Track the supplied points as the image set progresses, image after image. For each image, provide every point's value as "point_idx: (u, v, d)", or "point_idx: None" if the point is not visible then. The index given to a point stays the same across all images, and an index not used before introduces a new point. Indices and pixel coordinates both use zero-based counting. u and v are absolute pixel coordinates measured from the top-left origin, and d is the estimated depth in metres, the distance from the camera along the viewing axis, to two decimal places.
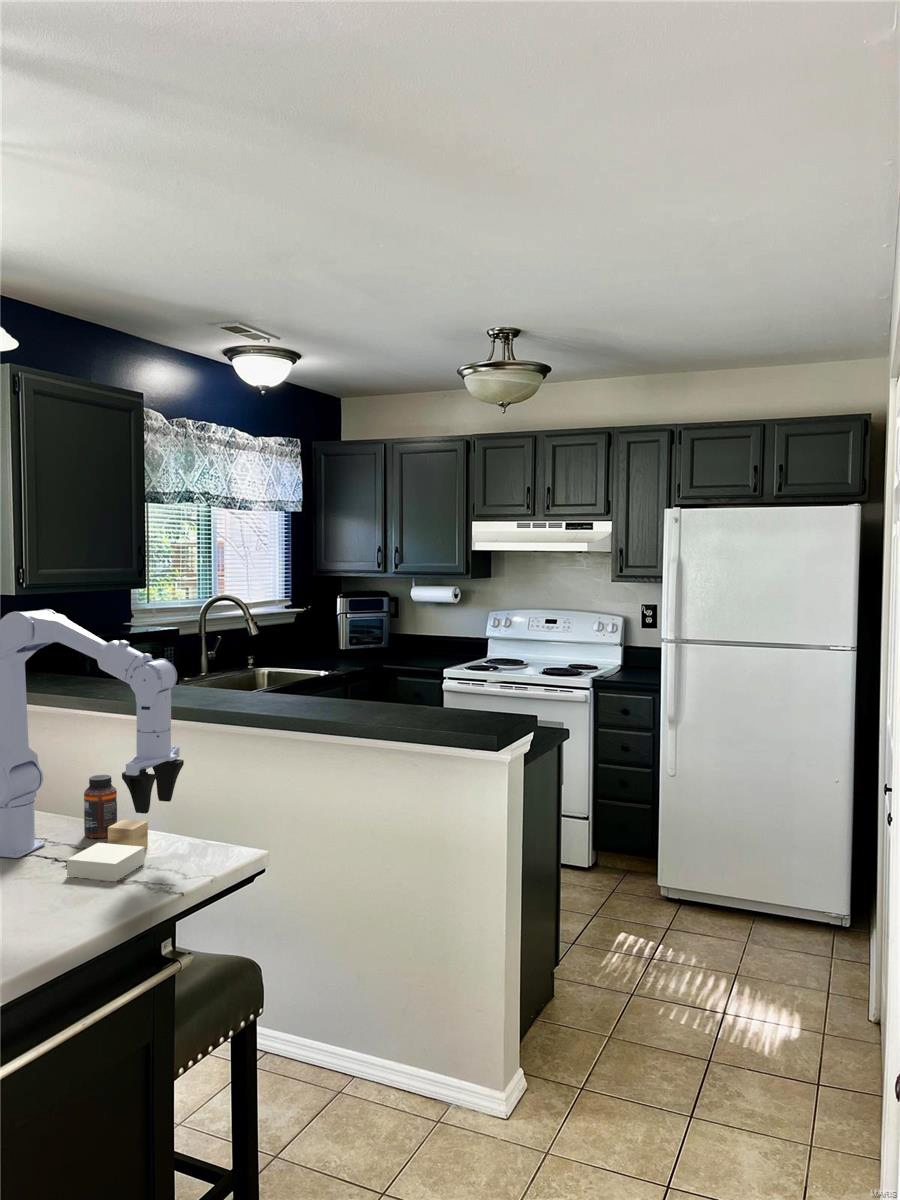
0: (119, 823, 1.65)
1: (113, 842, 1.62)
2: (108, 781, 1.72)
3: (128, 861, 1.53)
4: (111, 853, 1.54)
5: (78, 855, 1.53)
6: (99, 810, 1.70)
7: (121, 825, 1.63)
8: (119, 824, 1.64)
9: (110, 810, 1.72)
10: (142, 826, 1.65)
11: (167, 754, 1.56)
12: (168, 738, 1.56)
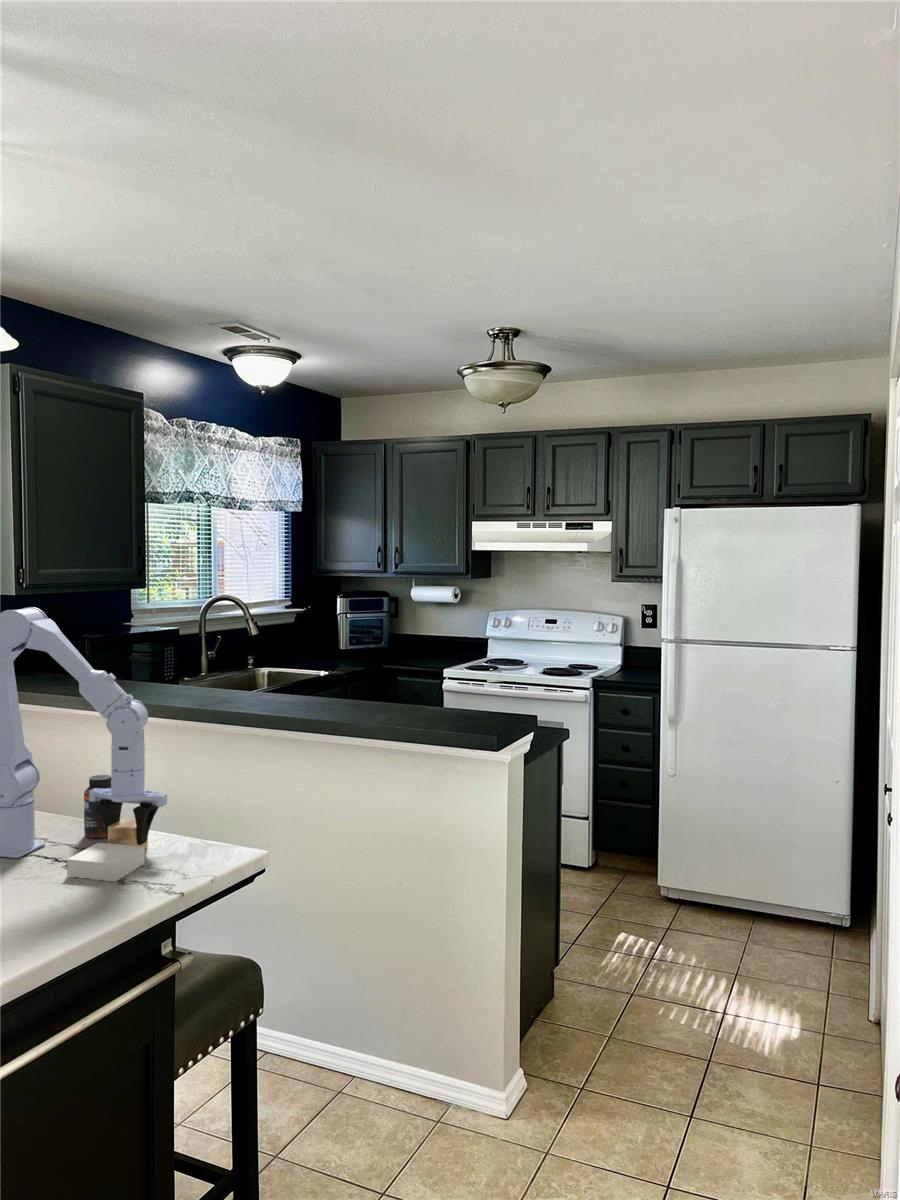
0: (119, 823, 1.65)
1: (113, 841, 1.62)
2: (108, 781, 1.72)
3: (128, 861, 1.53)
4: (111, 853, 1.54)
5: (78, 855, 1.53)
6: None
7: (121, 825, 1.63)
8: (119, 823, 1.64)
9: None
10: None
11: (117, 794, 1.61)
12: (118, 779, 1.61)
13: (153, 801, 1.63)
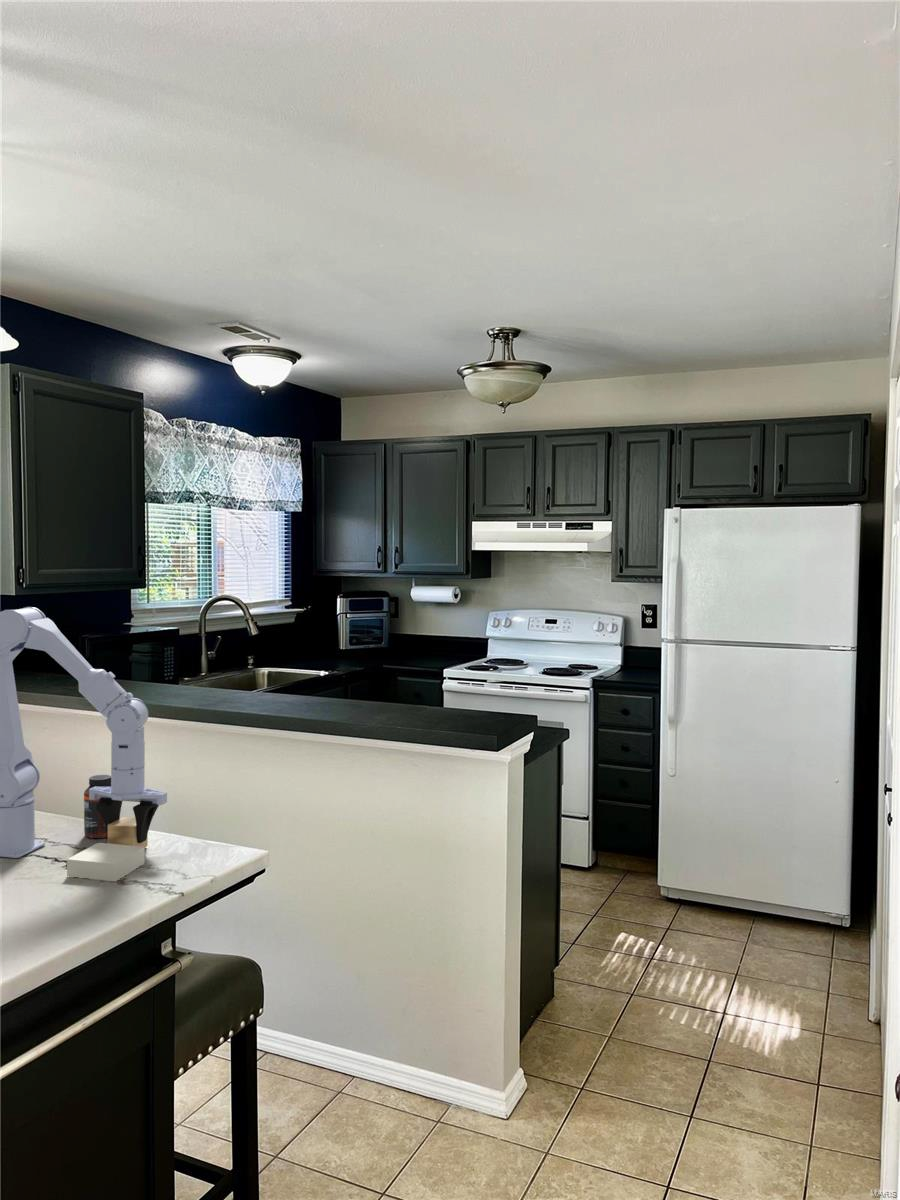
0: (119, 821, 1.65)
1: (113, 840, 1.62)
2: (108, 781, 1.72)
3: (128, 861, 1.53)
4: (111, 853, 1.54)
5: (78, 855, 1.53)
6: None
7: (121, 823, 1.63)
8: (119, 822, 1.64)
9: None
10: None
11: (117, 792, 1.61)
12: (118, 777, 1.61)
13: (153, 799, 1.63)
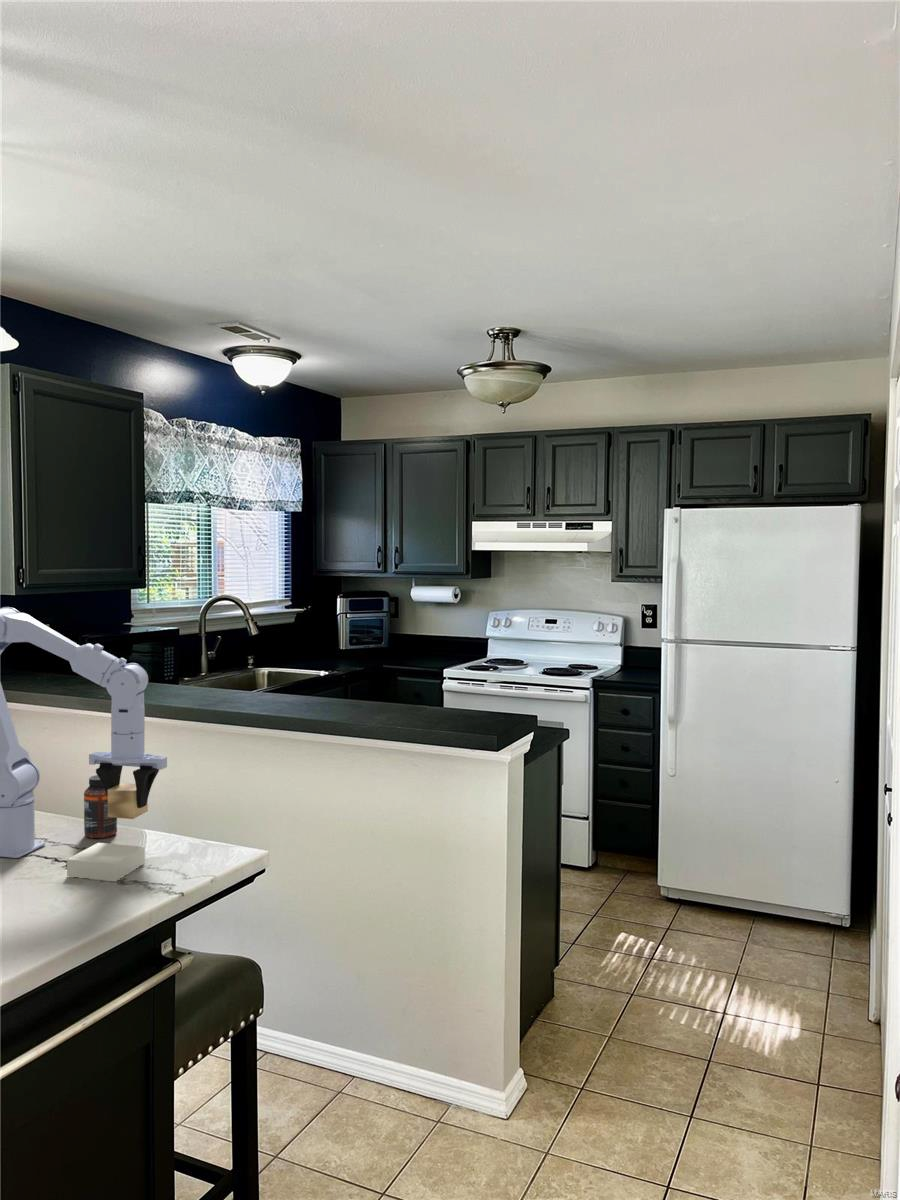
0: (119, 786, 1.64)
1: (113, 804, 1.62)
2: None
3: (128, 861, 1.53)
4: (111, 853, 1.54)
5: (78, 855, 1.53)
6: (99, 810, 1.70)
7: (121, 788, 1.63)
8: (119, 787, 1.64)
9: None
10: None
11: (117, 757, 1.61)
12: (118, 741, 1.61)
13: (153, 764, 1.63)
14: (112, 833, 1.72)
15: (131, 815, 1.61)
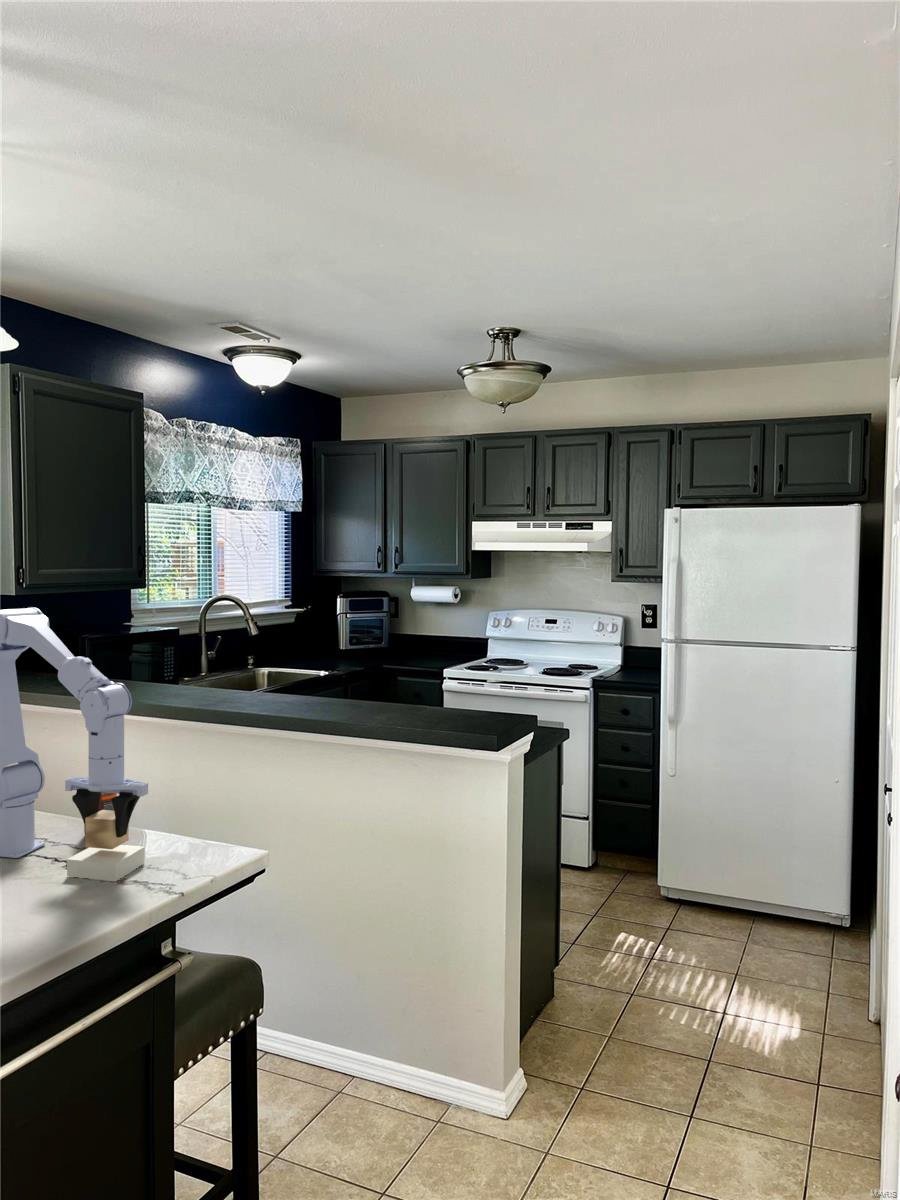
0: (97, 814, 1.54)
1: (91, 833, 1.52)
2: None
3: (128, 861, 1.53)
4: (111, 853, 1.54)
5: (78, 855, 1.53)
6: (99, 810, 1.70)
7: (100, 816, 1.53)
8: (98, 815, 1.54)
9: None
10: None
11: (94, 783, 1.51)
12: (96, 767, 1.51)
13: (133, 790, 1.53)
14: None
15: (110, 845, 1.52)
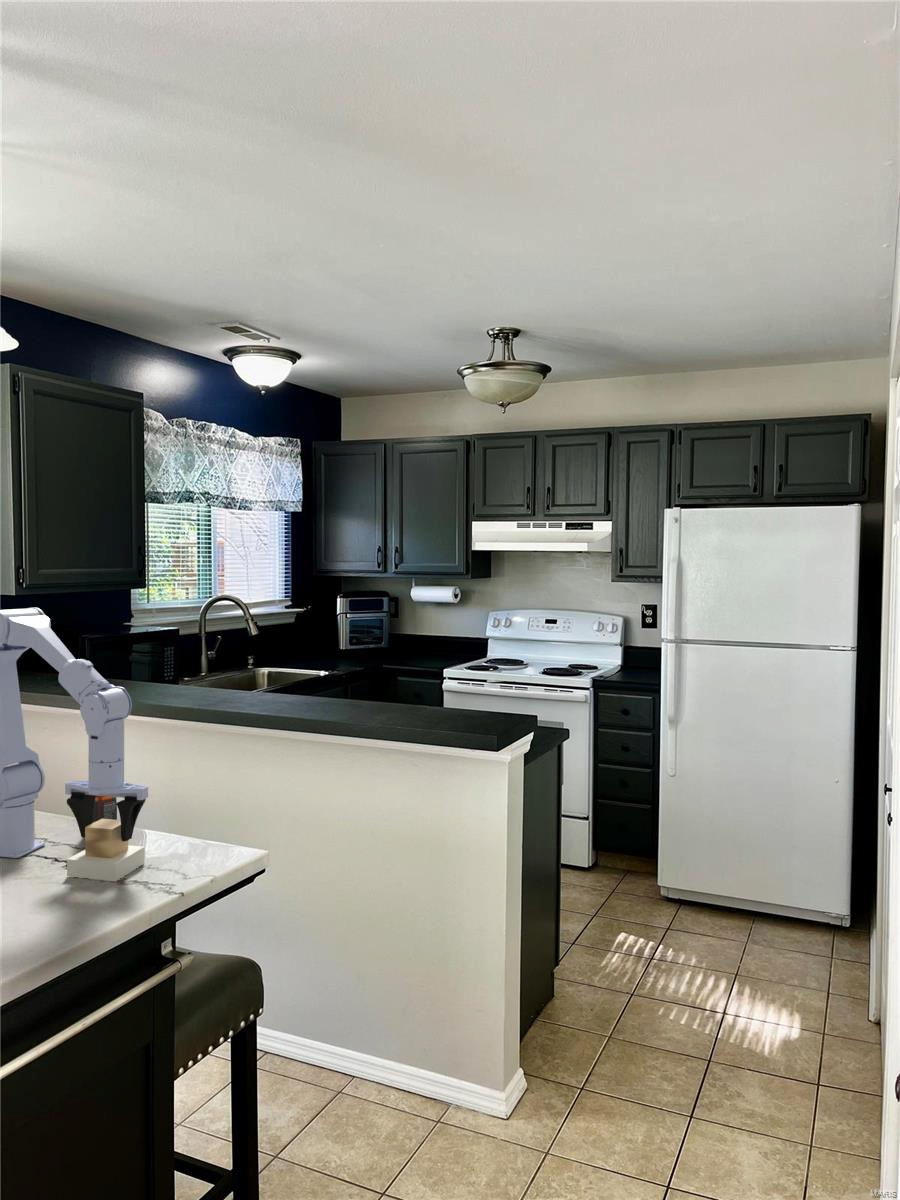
0: (97, 823, 1.54)
1: (91, 843, 1.52)
2: None
3: (128, 861, 1.53)
4: None
5: (78, 855, 1.53)
6: (99, 810, 1.70)
7: (100, 825, 1.53)
8: (97, 824, 1.54)
9: (110, 810, 1.72)
10: None
11: (94, 787, 1.51)
12: (96, 770, 1.51)
13: (133, 794, 1.53)
14: None
15: (110, 854, 1.52)
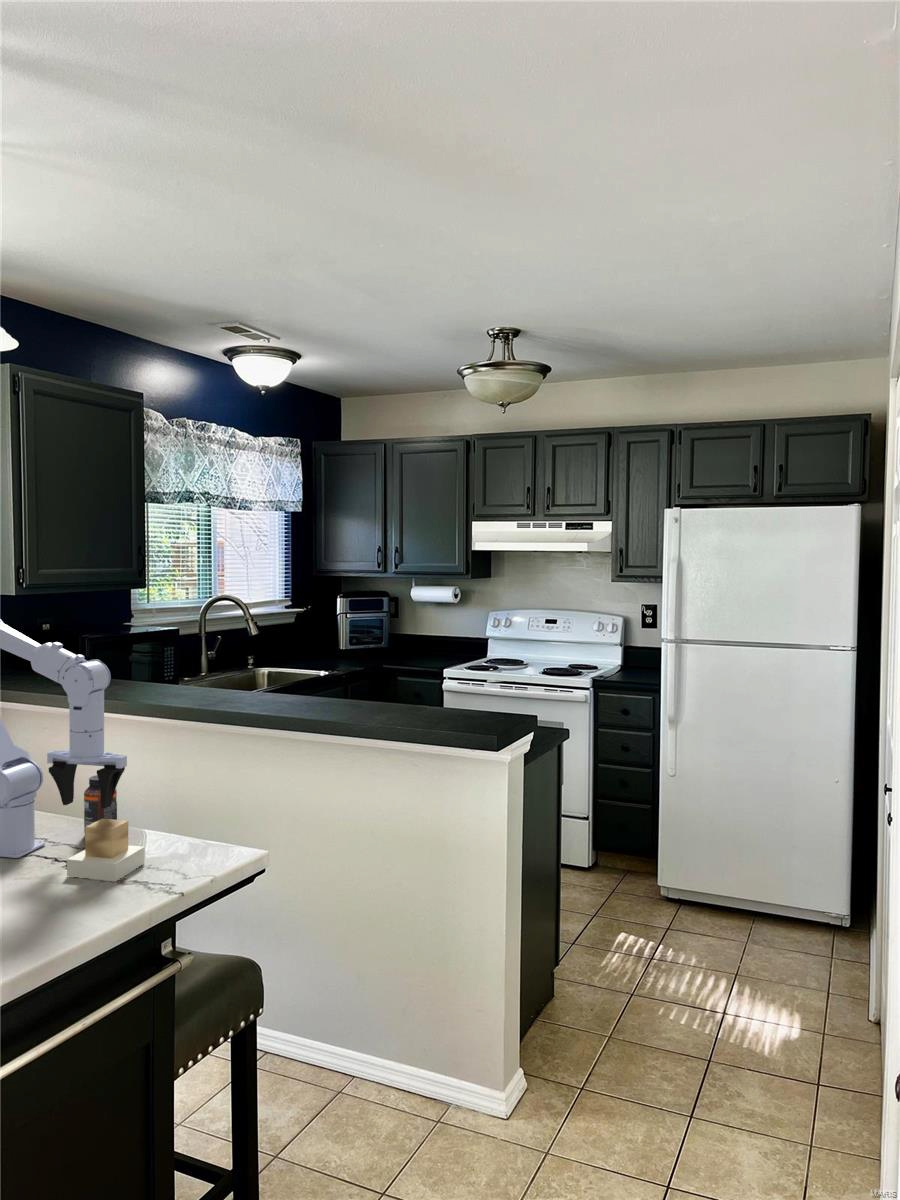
0: (97, 823, 1.54)
1: (91, 843, 1.52)
2: None
3: (128, 861, 1.53)
4: None
5: (78, 855, 1.53)
6: (99, 810, 1.70)
7: (100, 825, 1.53)
8: (97, 824, 1.54)
9: (110, 810, 1.72)
10: (122, 826, 1.54)
11: (75, 755, 1.57)
12: (76, 740, 1.57)
13: (112, 763, 1.59)
14: None
15: (110, 854, 1.52)
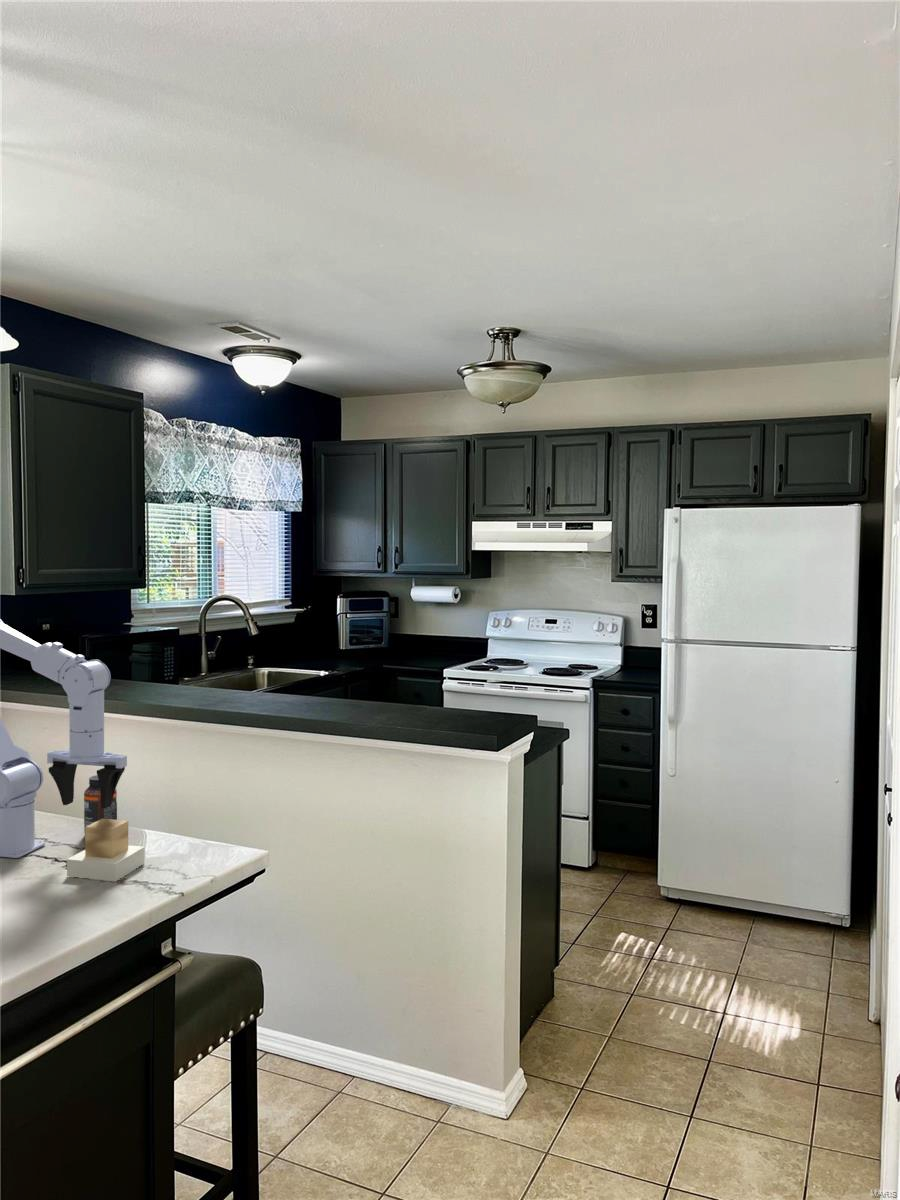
0: (97, 823, 1.54)
1: (91, 843, 1.52)
2: None
3: (128, 861, 1.53)
4: None
5: (78, 855, 1.53)
6: (99, 810, 1.70)
7: (100, 825, 1.53)
8: (97, 824, 1.54)
9: (110, 810, 1.72)
10: (122, 826, 1.54)
11: (75, 755, 1.57)
12: (76, 740, 1.57)
13: (112, 763, 1.59)
14: None
15: (110, 854, 1.52)
